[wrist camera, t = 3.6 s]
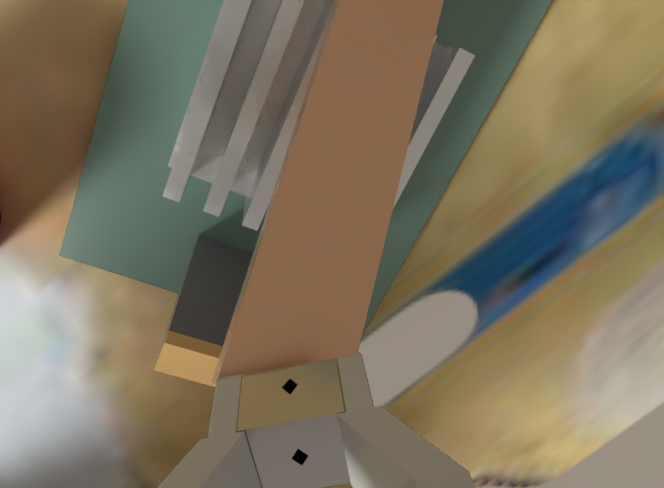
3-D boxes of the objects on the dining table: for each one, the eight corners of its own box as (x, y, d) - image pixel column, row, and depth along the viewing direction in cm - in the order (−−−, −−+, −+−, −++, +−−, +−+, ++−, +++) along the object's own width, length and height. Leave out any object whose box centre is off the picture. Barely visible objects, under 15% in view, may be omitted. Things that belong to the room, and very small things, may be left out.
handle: (319, 411, 13) (341, 418, 12) (206, 380, 12) (215, 383, 11) (443, -68, 18) (469, -105, 17) (368, -112, 17) (389, -154, 16)
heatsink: (352, 220, 29) (369, 272, 23) (176, 151, 26) (151, 192, 21) (440, 46, 25) (484, 60, 20) (246, -54, 22) (238, -69, 17)
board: (352, 339, 34) (383, 479, 24) (66, 247, 29) (-40, 375, 19) (564, -40, 25) (747, -61, 15) (205, -261, 20) (142, -495, 11)
